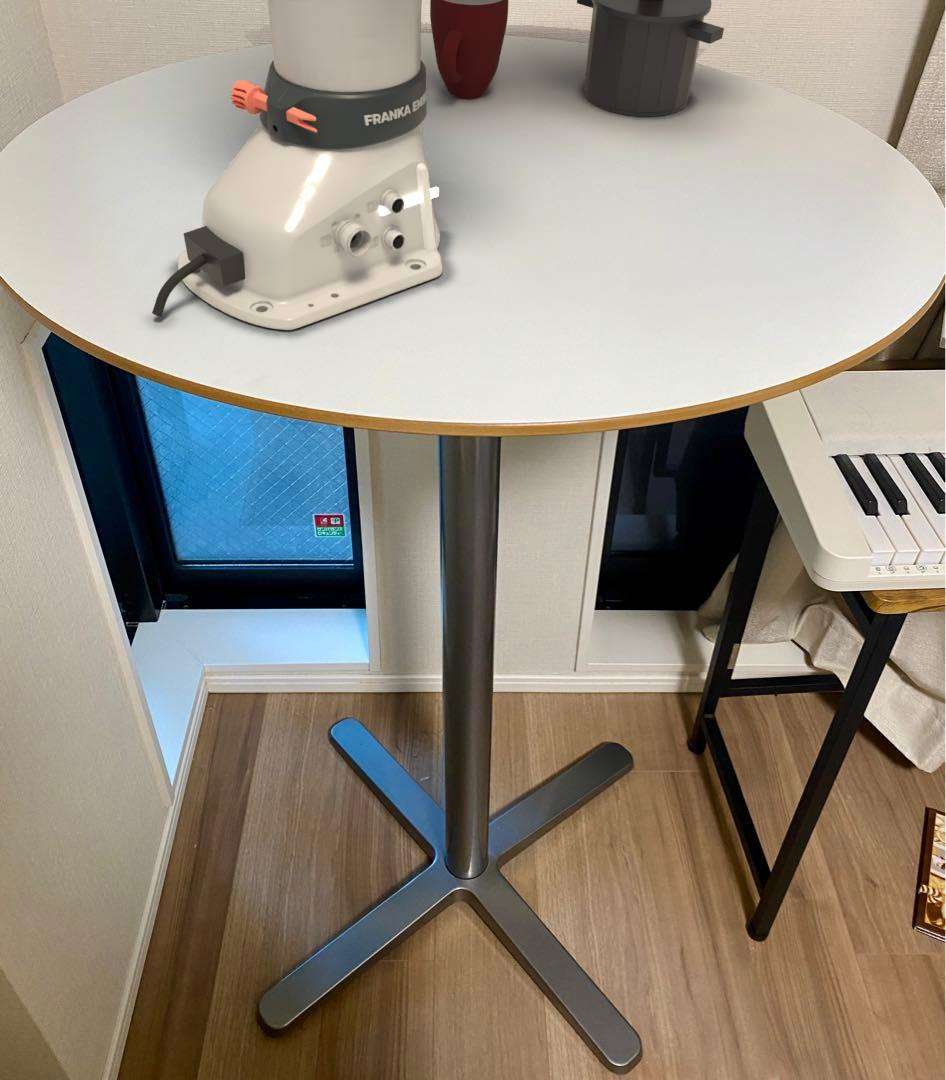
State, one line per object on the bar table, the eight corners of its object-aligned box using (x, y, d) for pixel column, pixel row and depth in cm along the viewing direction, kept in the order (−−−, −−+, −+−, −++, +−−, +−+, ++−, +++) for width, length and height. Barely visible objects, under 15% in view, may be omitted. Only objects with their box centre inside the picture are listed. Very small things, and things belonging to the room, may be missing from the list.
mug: (492, 119, 104) (497, 16, 96) (416, 111, 104) (416, 8, 97) (508, 82, 111) (514, -16, 104) (438, 74, 112) (439, -24, 105)
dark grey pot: (671, 133, 103) (689, 36, 96) (544, 88, 110) (552, -5, 103) (728, 103, 109) (748, 10, 102) (604, 62, 116) (615, -28, 110)
